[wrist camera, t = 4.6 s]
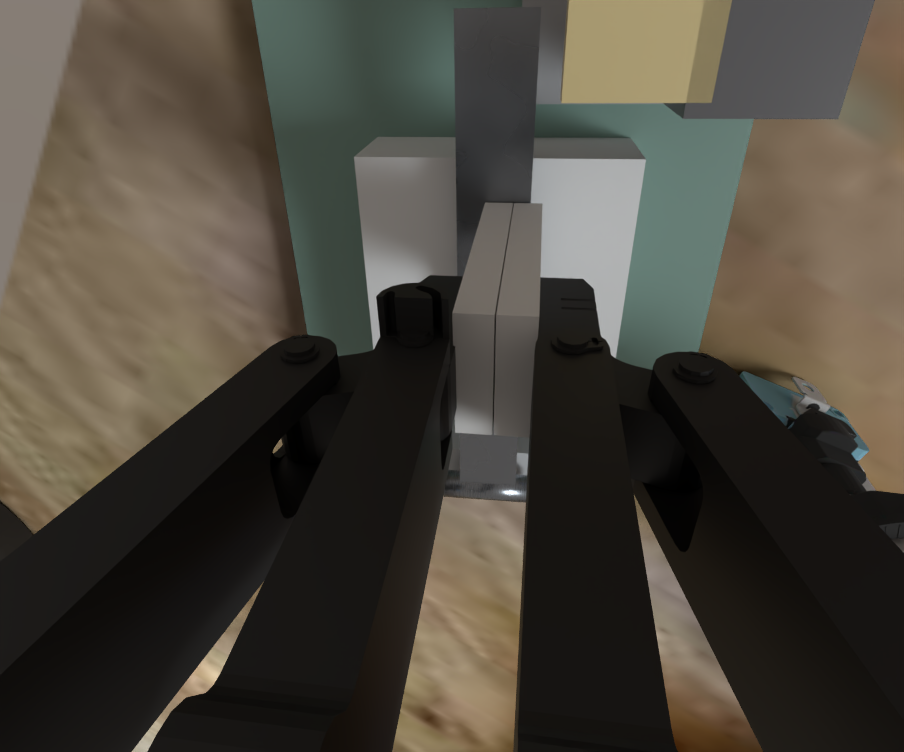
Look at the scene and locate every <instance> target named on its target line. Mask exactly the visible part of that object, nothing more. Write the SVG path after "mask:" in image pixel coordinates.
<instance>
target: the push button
mask: <svg viewBox="0 0 904 752" xmlns="http://www.w3.org/2000/svg"><path fill="white" fill-rule="evenodd" d="M739 376H740V377H741V379H742V380H743V381H744V382H745V383H746V384H747V385H748V386H749V387H750V388H751V389H752V390H753V391H754V392H755V394H756V395H757V396H758V397H759V398H760V399H761V400H762V401H763V402H764V403H765V404H766V405H767V406H768V408H769V409H770V410H771V411H772V412H773V413H774V414H775V415H776V416H777V417H778V418H779V419H780V420H781V421H782V423H783V424H784V425H785V426H786V427H787V428H788V429H789V430H790V431H791V432H792V433H793V434H794V435H795V437H796V438H797V439H798V440H799V441H800V442H801V443H802V444H803V445H804V446H805V447H806V448H807V449H808V450H809V452H810V453H811V454H812V455H813V456H814V457H815V458H816V459H817V460H818V461H819V462H820V463H821V464H822V466H823V467H824V468H825V469H826V470H827V471H828V472H829V473H830V474H831V475H832V476H833V477H834V478H835V479H836V481H837V482H838V483H839V484H840V485H841V486H842V487H843V488H844V489H845V490H846V491H847V492H848V493H849V495H850V496H851V497H852V498H853V499H854V500H855V501H856V502H857V503H858V504H859V505H860V506H861V507H862V508H863V510H864V511H865V512H866V513H867V514H868V515H869V516H870V517H871V518H872V519H873V520H874V521H875V522H876V524H877V525H878V526H879V527H880V528H881V529H882V530H883V531H884V532H885V533H886V534H887V535H888V536H889V537H890V539H891V540H892V541H893V542H894V543H895V544H896V545H897V546H898V547H899V548H900V549H901V550H902V551H903V552H904V494H898V493H890V492H882V491H876V490H875V488H874V487H873V486H872V484H871V483H870V481H869V480H868V479H867V477H866V474H865V472H864V470H863V468H862V467H861V465H860V464H859V463H858V461H859V460H860V459H861V458H862V457H863V456H864V455H865V454H866V453H867V452H868V451H869V448H868V447H867V446H866V444H865V443H864V442H863V440H862V439H861V438H860V436H859V435H858V434H857V432H856V431H855V430H854V428H853V427H852V426H851V424H850V423H849V422H848V421H849V420H848V419H847V418H846V416H845V415H844V414H843V413H842V412H840V411H839V410H837V409H835V408H833V407H831V406H830V405H829V404H827V403H826V402H827V401H826V400H825V398H824V397H823V396H822V394H821V393H820V391H819V390H818V389H817V387H815V386H814V385H813V384H811V383H809V382H806V381H804V380H802V379H799V378H797V377H792V378H791V379H792V381H793V382H794V383H795V385H796V386H797V388H798V389H799V391H800V392H801V393H802V394H804V395H800V394H798V393H795V392H793V391H791V390H788V389H786V388H784V387H781V386H779V385H776V384H774V383H772V382H769V381H767V380H765V379H762V378H760V377H757V376H755V375H753V374H750V373H748V372H745V371H744V372H742V373H741V374H740V375H739ZM803 385H805V386H807V387H808V388H810V389H811V390H812V391H813V392H812V391H810V390H808V389H806V388H805V387H804V386H803Z"/></svg>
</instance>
